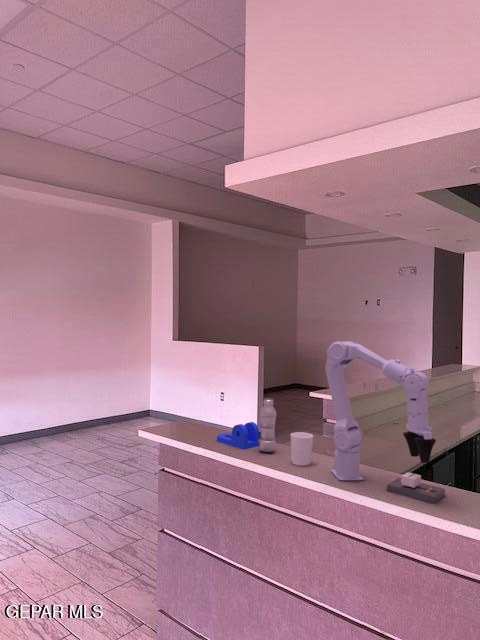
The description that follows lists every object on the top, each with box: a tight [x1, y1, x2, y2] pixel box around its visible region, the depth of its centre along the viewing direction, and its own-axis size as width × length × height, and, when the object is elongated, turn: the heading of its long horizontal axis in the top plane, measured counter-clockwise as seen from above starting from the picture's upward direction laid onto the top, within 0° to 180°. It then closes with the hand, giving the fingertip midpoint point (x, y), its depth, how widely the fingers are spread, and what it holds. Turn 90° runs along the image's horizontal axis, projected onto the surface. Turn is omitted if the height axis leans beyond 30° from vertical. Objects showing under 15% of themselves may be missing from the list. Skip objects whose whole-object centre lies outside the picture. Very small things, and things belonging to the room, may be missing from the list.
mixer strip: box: [386, 477, 446, 504], centre depth 146 cm, size 14×9×2 cm, turn 49°
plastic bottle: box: [258, 398, 277, 453], centre depth 186 cm, size 6×7×20 cm
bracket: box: [216, 421, 260, 450], centre depth 198 cm, size 18×8×9 cm, turn 45°
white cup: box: [290, 431, 314, 467], centre depth 173 cm, size 8×8×10 cm
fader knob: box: [400, 471, 422, 488], centre depth 147 cm, size 4×5×3 cm
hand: (419, 459), depth 145 cm, fingers open, 7 cm apart
